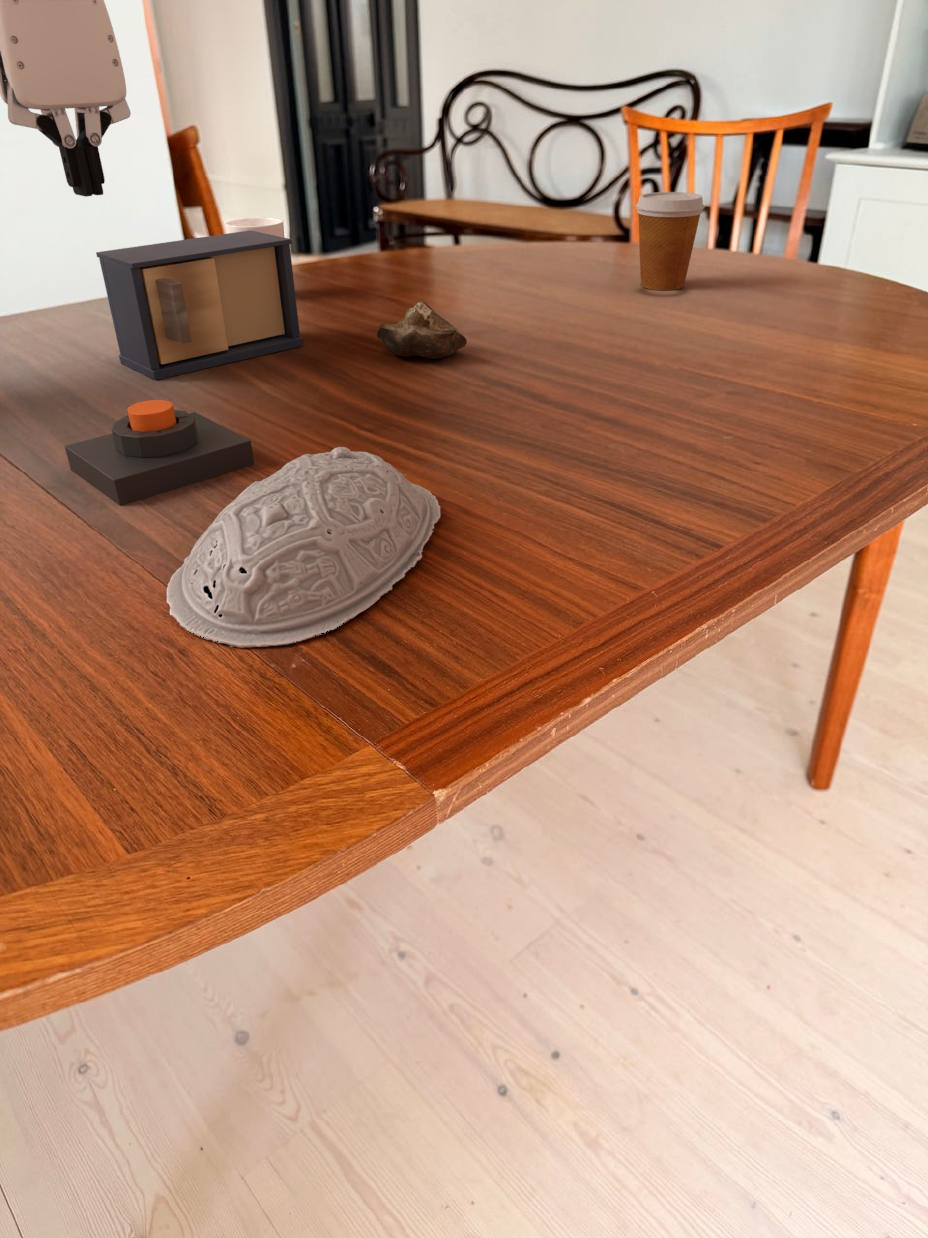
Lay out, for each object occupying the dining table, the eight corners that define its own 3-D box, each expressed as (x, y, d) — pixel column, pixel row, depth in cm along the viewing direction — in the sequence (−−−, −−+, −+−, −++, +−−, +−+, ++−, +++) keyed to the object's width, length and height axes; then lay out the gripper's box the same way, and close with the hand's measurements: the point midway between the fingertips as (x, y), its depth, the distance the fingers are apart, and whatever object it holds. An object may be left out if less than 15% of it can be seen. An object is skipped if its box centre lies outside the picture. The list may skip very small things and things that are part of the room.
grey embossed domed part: (106, 611, 56) (93, 512, 52) (306, 477, 76) (307, 399, 72) (331, 682, 52) (334, 580, 48) (478, 521, 72) (488, 441, 69)
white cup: (250, 305, 126) (240, 228, 121) (227, 295, 132) (216, 221, 126) (301, 296, 130) (292, 222, 125) (276, 287, 136) (267, 215, 130)
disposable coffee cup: (626, 278, 137) (632, 191, 130) (689, 278, 136) (699, 190, 130) (633, 293, 129) (640, 201, 122) (700, 292, 128) (711, 200, 122)
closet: (155, 380, 98) (131, 263, 91) (120, 363, 103) (95, 252, 97) (303, 345, 108) (291, 238, 102) (264, 332, 114) (250, 229, 108)
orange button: (143, 438, 73) (138, 417, 72) (124, 427, 75) (120, 406, 74) (184, 427, 75) (180, 406, 74) (164, 416, 77) (160, 396, 76)
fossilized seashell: (360, 338, 101) (436, 365, 98) (381, 281, 100) (459, 306, 97) (389, 357, 108) (461, 382, 105) (409, 304, 107) (482, 328, 104)
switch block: (120, 506, 70) (108, 458, 68) (70, 470, 77) (58, 425, 75) (254, 464, 77) (248, 419, 75) (198, 434, 83) (191, 392, 81)
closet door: (176, 371, 96) (158, 274, 91) (158, 363, 99) (139, 267, 93) (244, 356, 100) (231, 262, 95) (225, 348, 103) (210, 256, 98)
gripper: (103, -41, 82) (146, 183, 91) (-75, -48, 73) (-7, 199, 83) (139, -48, 77) (180, 189, 87) (-47, -56, 68) (22, 207, 78)
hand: (88, 193), depth 85 cm, fingers closed
